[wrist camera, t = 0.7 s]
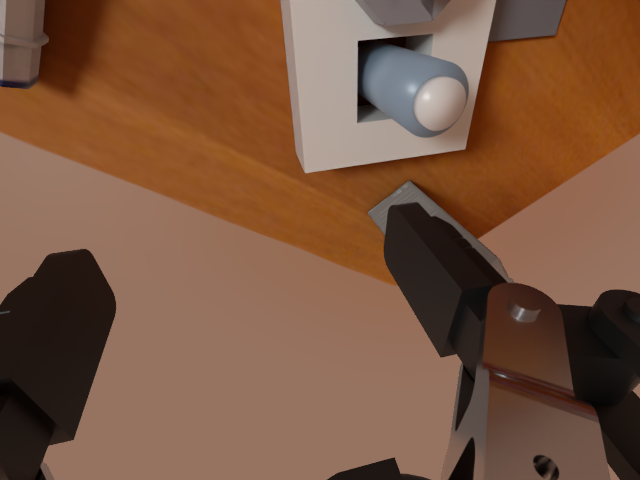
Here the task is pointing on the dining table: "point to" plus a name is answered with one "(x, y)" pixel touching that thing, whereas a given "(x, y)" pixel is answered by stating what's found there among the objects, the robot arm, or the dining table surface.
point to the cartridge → (412, 87)
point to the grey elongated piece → (21, 42)
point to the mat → (525, 19)
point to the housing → (342, 69)
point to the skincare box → (414, 194)
